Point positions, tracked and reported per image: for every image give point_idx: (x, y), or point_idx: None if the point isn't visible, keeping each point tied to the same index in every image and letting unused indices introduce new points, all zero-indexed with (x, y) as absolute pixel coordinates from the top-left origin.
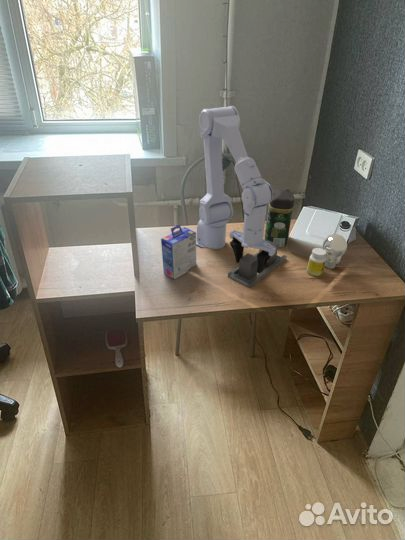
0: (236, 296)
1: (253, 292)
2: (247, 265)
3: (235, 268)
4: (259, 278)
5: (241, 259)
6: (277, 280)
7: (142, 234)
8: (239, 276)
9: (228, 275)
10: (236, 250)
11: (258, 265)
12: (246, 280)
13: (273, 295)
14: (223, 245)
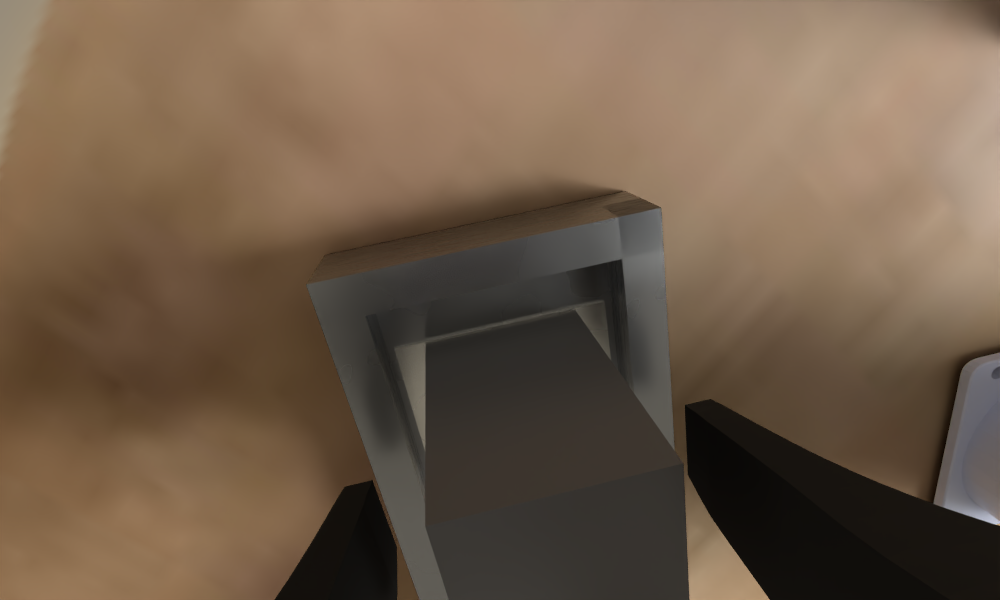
0: (311, 48)
1: (274, 270)
2: (492, 459)
3: (663, 344)
4: (371, 446)
5: (645, 470)
6: None
7: None
8: (553, 308)
9: (638, 203)
10: (885, 556)
11: (313, 594)
12: (402, 301)
13: (126, 403)
14: (986, 480)
